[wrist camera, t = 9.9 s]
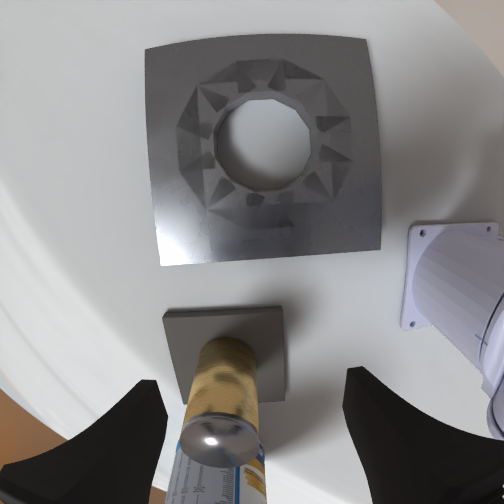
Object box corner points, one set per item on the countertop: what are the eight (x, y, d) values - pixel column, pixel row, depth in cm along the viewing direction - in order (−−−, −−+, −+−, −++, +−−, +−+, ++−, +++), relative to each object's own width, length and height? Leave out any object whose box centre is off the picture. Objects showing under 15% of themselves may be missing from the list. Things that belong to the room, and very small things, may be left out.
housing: (355, 49, 16) (365, 39, 14) (368, 241, 19) (380, 249, 17) (154, 59, 16) (144, 49, 14) (169, 256, 19) (161, 265, 17)
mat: (281, 306, 20) (282, 311, 19) (283, 394, 22) (285, 400, 21) (165, 312, 20) (162, 317, 19) (185, 397, 22) (183, 404, 22)
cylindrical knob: (256, 336, 20) (260, 424, 12) (255, 381, 21) (258, 468, 13) (196, 336, 20) (173, 420, 12) (201, 380, 21) (185, 465, 13)
